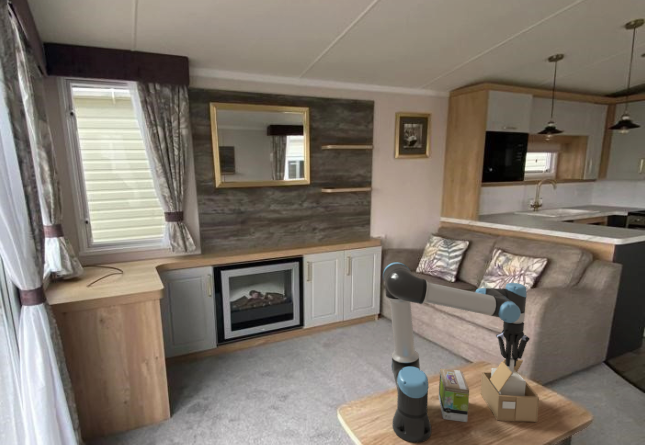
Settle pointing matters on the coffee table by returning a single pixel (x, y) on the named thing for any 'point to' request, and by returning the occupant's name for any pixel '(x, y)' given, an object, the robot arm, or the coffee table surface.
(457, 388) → the tea box
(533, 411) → the carton
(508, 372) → the flap left
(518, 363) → the flap far
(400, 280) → the robot arm
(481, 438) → the coffee table surface
